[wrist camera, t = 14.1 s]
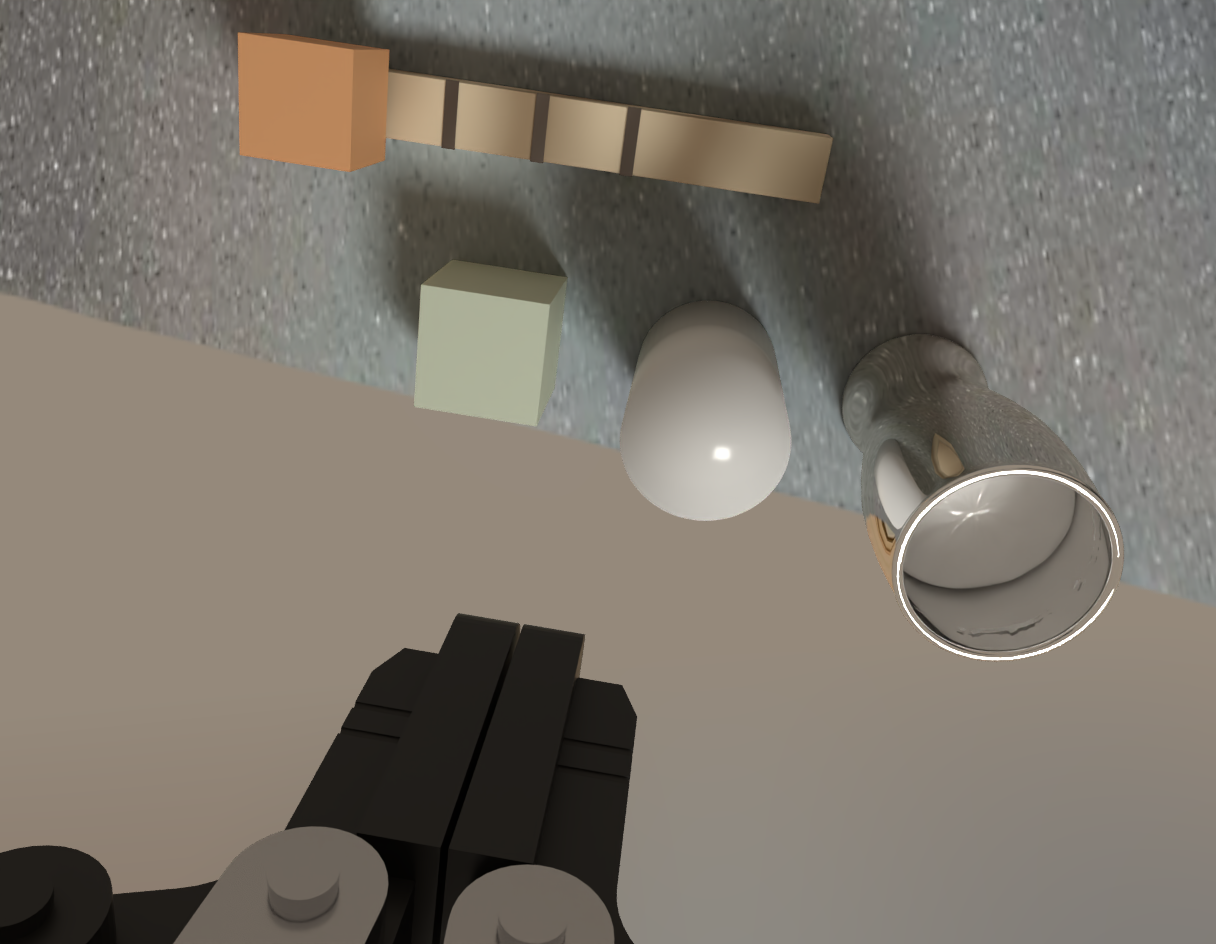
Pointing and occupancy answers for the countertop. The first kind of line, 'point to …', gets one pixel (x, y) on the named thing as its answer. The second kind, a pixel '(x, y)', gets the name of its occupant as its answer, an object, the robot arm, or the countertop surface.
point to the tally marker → (312, 101)
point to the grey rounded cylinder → (706, 414)
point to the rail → (607, 136)
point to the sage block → (489, 341)
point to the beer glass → (976, 506)
